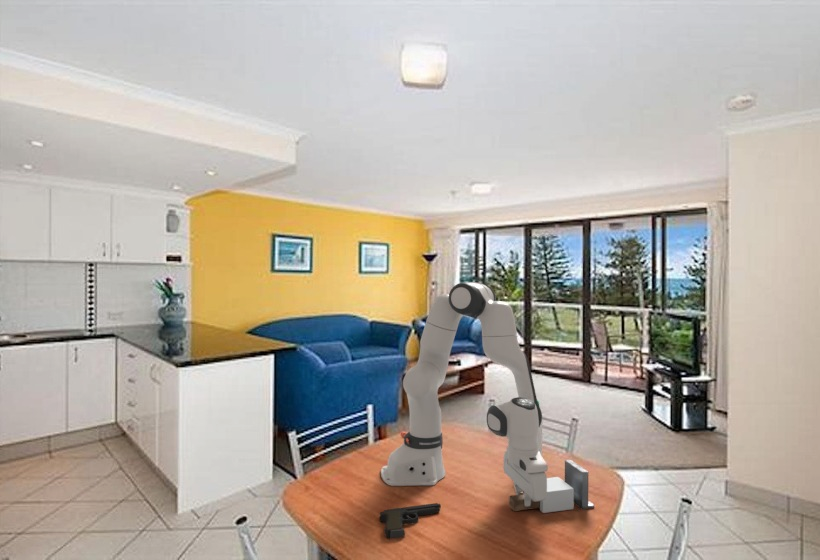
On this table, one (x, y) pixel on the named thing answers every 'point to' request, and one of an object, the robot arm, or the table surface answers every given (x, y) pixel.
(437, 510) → the handgun
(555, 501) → the tunnel block
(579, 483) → the wall
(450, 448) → the table surface
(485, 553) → the table surface
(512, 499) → the walnut bar
